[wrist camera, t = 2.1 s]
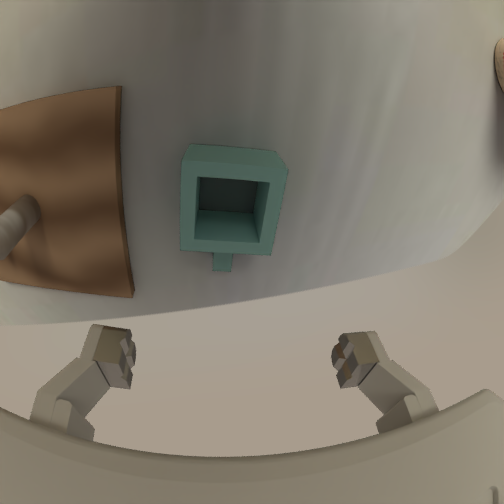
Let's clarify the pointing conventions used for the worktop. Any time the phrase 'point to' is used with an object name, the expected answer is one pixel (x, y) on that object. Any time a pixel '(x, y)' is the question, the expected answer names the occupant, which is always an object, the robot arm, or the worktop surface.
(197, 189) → the teal open cubby box
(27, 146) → the post board
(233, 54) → the worktop surface
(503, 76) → the teacup with lid
